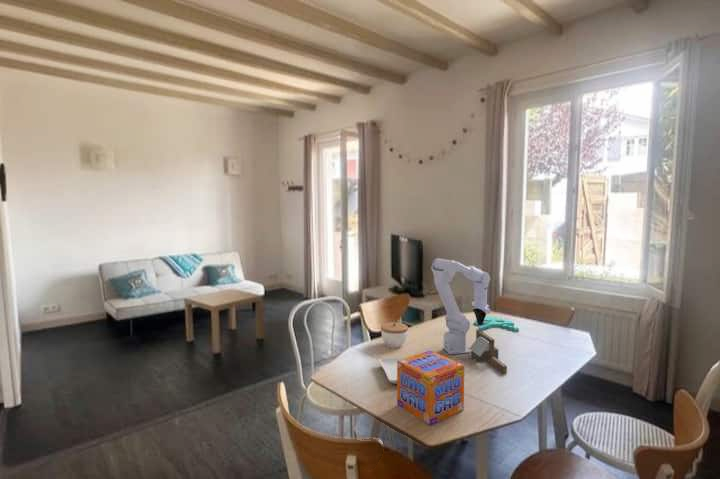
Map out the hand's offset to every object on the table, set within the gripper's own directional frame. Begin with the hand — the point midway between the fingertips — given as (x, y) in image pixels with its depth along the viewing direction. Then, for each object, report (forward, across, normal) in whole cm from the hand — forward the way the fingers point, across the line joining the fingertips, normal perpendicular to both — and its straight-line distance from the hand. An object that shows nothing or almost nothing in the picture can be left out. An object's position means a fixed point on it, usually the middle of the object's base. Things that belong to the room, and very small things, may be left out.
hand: (480, 324), depth 188 cm
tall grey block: (+9, -16, +6) cm, 20 cm away
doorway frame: (+9, -21, +6) cm, 24 cm away
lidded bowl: (+10, +6, +40) cm, 42 cm away
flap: (+7, -16, +11) cm, 20 cm away
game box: (+10, -51, +44) cm, 68 cm away
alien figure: (+10, +24, -21) cm, 33 cm away
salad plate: (+10, -25, +43) cm, 51 cm away
